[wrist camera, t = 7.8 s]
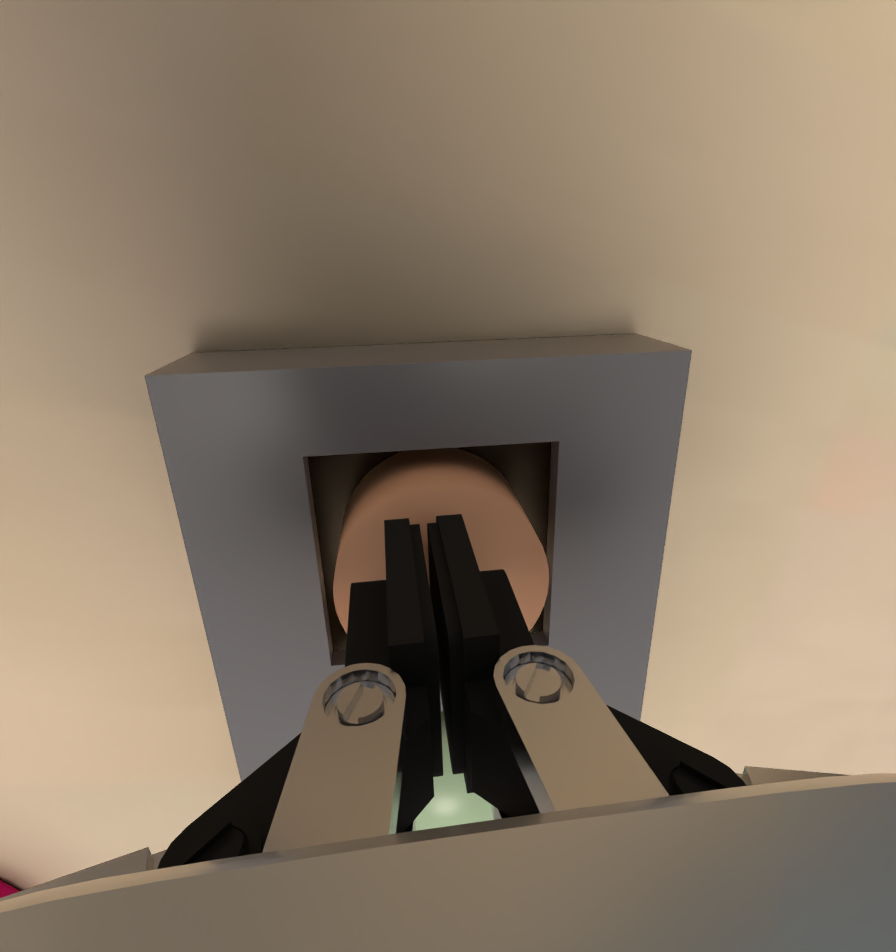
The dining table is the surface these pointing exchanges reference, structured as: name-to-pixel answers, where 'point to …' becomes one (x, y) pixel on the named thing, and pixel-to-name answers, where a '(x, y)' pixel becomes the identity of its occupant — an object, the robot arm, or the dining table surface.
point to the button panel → (400, 429)
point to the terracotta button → (422, 499)
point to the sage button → (452, 798)
